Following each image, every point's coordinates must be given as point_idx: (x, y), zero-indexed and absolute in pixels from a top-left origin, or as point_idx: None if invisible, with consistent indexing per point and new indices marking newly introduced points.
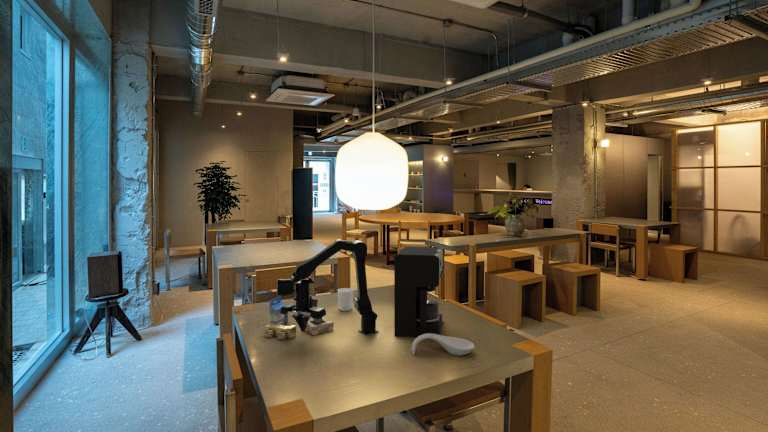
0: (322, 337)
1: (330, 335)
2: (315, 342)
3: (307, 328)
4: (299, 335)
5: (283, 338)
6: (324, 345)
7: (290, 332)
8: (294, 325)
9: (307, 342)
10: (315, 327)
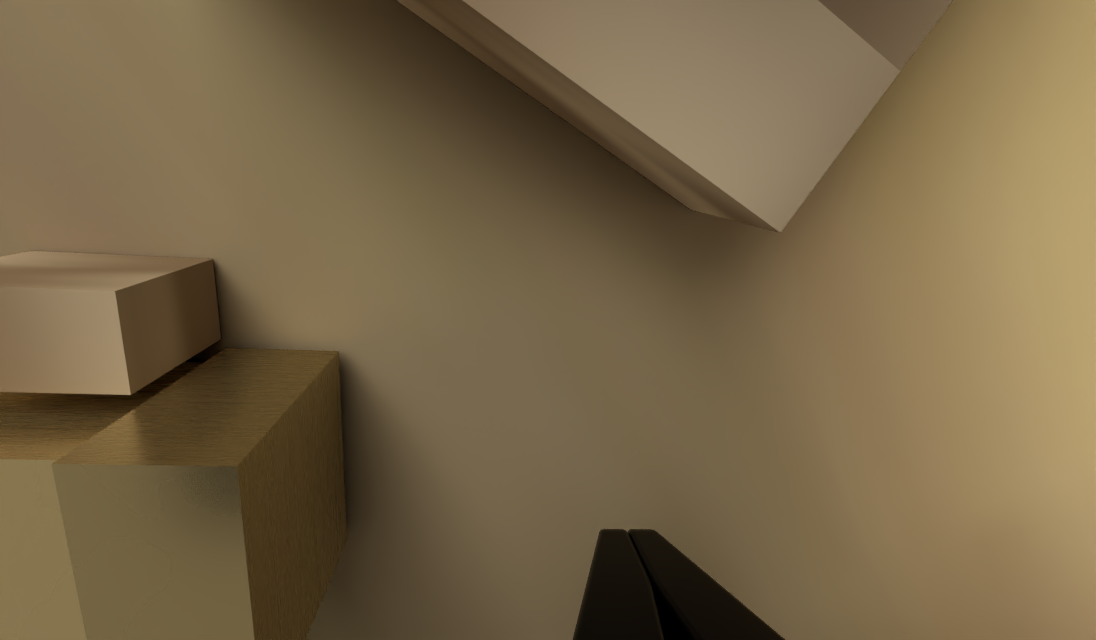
0: (932, 255)
1: (1074, 85)
2: (877, 511)
3: (449, 20)
4: (404, 313)
5: None
6: (1061, 563)
7: (303, 633)
8: (176, 476)
9: (740, 556)
10: (825, 149)
